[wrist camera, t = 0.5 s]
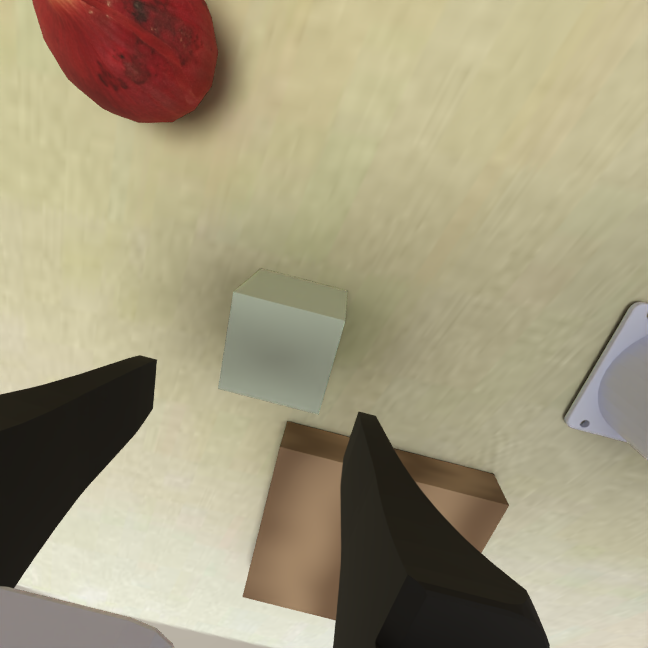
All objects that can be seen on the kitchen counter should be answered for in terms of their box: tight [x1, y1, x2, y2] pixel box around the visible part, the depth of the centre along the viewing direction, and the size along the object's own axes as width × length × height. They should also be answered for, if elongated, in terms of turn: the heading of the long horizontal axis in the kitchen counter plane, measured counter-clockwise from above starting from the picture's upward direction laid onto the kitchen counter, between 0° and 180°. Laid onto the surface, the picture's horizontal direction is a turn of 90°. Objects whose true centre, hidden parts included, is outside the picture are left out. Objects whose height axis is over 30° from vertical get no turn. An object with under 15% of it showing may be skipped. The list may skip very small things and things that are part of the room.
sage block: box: [218, 268, 348, 415], centre depth 19 cm, size 5×5×5 cm
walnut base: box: [243, 421, 509, 620], centre depth 25 cm, size 14×14×2 cm
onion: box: [32, 0, 218, 123], centre depth 13 cm, size 6×6×8 cm
